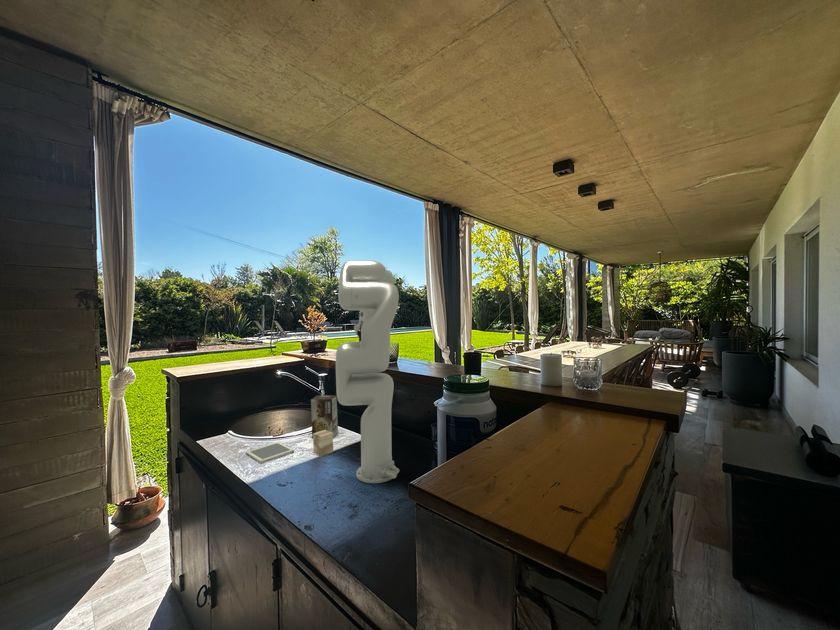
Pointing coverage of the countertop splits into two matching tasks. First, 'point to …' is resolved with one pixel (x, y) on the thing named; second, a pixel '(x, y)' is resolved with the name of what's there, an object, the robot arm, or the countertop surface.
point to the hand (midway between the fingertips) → (371, 345)
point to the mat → (269, 452)
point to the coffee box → (324, 414)
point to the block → (322, 442)
